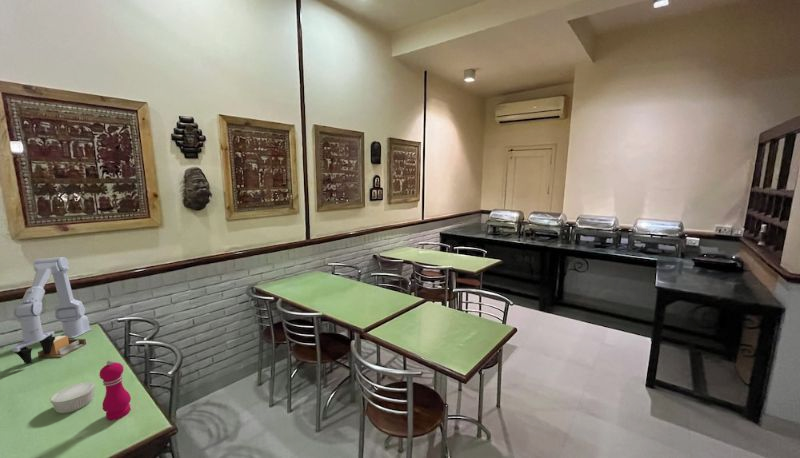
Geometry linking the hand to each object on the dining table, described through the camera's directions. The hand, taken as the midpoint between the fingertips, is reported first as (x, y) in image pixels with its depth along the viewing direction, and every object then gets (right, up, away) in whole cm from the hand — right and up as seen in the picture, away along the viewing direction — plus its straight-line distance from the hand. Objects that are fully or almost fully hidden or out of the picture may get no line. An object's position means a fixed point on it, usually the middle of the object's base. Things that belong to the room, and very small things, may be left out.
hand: (38, 358), depth 141 cm
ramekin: (+44, -6, -27) cm, 52 cm away
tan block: (0, 0, +9) cm, 9 cm away
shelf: (+1, 0, +10) cm, 10 cm away
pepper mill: (+64, -6, -32) cm, 71 cm away
